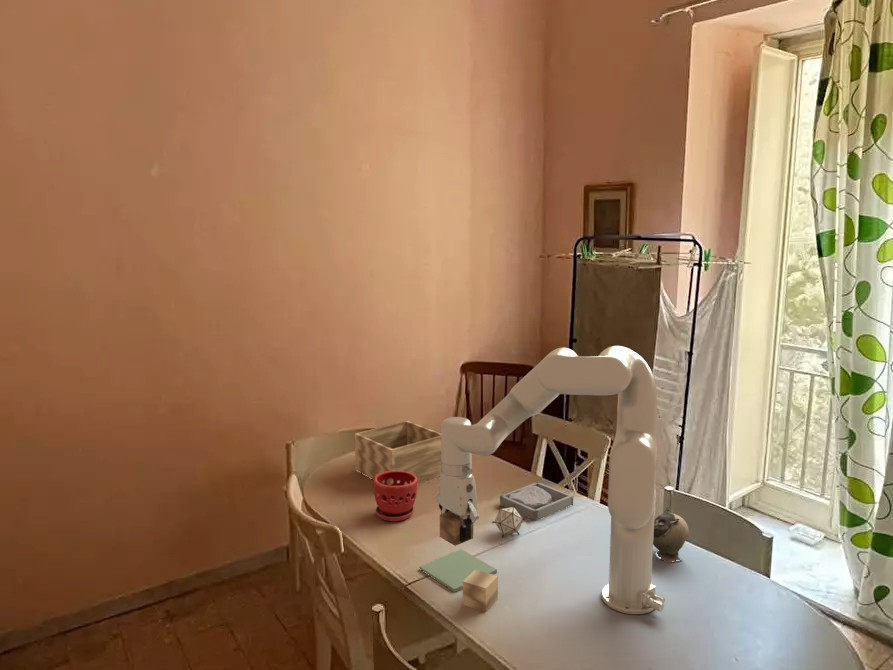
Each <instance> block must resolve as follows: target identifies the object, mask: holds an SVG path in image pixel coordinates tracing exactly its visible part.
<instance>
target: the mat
mask: <svg viewBox="0 0 893 670" xmlns="http://www.w3.org/2000/svg"><path fill="white" fill-rule="evenodd" d="M419 568H420V569H421V570H423V571H424V572H426V573H427V574H429V575H430V576H432V577H433V578H435V579H436V580H437V581H436V580H435V579H434V580H435V581H436V582H438V581H439V582H440V583H439V582H438V583H439V584H441V583H442V584H441V585H443V586H444V585H445V587H446V586H447V587H448V589H449V590H450V589H451V590H450V591H452V592H453V591H454V593H456V592H458V590H459V591H460V590H463V589H462V588H463V581H464V580H465V579H466V578H467V577H468V576H469V575H470V574H471V573H472V572H473V571H474V570H479V571H482V572H485V573H489V574H492V575H495V574H497V573H498V569H497V568H495V567H493V566H491V565H490V564H488V563H486V562H484V561H483V560H481V559H479V558H478V557H476V556H474V555H472V554H471V553H469V552H467V551H466V550H463V549H462V548H460V549H457V550H455V551H453V552H451V553H448V554H445V555H443V556H441V557H438V558H436V559H434V560H431V561H429V562H426V563H425V564H422V565H420V566H419ZM420 569H419V570H420ZM421 570H420V571H421ZM423 571H422V572H423ZM424 572H423V573H424ZM426 573H425V574H426ZM427 574H426V575H427ZM429 575H428V576H429ZM430 576H429V577H430ZM432 577H431V578H432ZM433 578H432V579H433ZM447 587H446V588H447Z"/></svg>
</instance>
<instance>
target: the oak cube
mask: <svg viewBox="0 0 893 670" xmlns="http://www.w3.org/2000/svg"><path fill="white" fill-rule="evenodd" d="M498 579H499V576H498V575H495V574H489V573H485V572H482V571H479V570H474V571H473V572H472V573H471V574H470V575H469V576H468V577H467V578H466V579H465V580H464V581H463V589H462V606H465V605H466V607H468V608H471V609H475V610H477V611H481V612H484V613H487V612H488V610H490V609H491V607H492V606H493V605H494V604H495V603H496V602H497V601H498V598H499V597H498V596H499V587H498V585H499V583H498V582H499V581H498Z"/></svg>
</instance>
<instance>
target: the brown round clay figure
mask: <svg viewBox="0 0 893 670" xmlns="http://www.w3.org/2000/svg"><path fill="white" fill-rule="evenodd" d="M689 536H690V529H689V525H688V524H687V522H686V521H685V519H684V518H682V517H681V516H680V515H678V514H675V513H672V512H670V509H669V506H667V507H666V509H664V511H663V512H662V513H661V514H660V515H658V516H656V518H655V517H654V538H653V547H654V548H655V549H657V551H658V550H659V551H658V552H657V554H658V556H659V557H661V559H663V560H665V561H664V562H666V561H667V563H671V562H672V561H676V560H680V559H681V558H680V557H679V551H680V550H681V549H682V548H683V546H684V545H685V542H686V541H687V539H688V538H689Z"/></svg>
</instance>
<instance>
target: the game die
mask: <svg viewBox="0 0 893 670" xmlns="http://www.w3.org/2000/svg"><path fill="white" fill-rule="evenodd" d="M497 509H498V512H497V515H496V517H495V519H494V521H493V520H492V521H491V524H495V526H496V527H497V529H498V530H499V531H500V532H501V534H502V535H501V538H504V537H505V535H511V534H515V533H517V535H520V532H519V530H520V528H521V526H522V523H523V521H525V520H526V519H527V518H526V517H524V518H523V516H522V515H521V514H519V513H518V511H517V510H516V509H515V504H514V506H513V507H509V508H506V507H503V508H501V507H499V506H497Z"/></svg>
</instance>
